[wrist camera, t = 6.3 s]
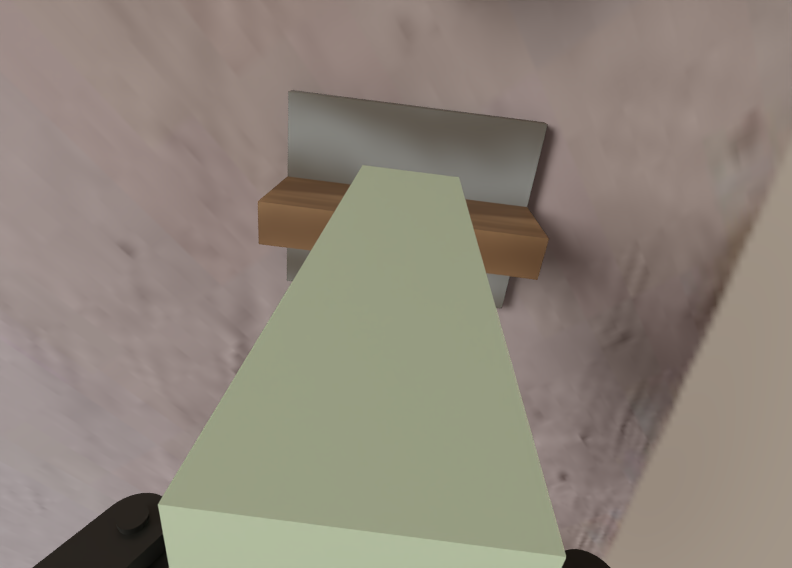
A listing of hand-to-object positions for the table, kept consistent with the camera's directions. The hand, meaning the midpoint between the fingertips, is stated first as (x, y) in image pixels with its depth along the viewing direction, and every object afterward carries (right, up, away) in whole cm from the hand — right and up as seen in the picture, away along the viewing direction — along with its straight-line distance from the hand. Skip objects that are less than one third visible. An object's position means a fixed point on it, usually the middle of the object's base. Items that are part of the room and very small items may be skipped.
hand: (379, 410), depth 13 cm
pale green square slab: (0, +2, +4) cm, 4 cm away
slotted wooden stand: (+1, +9, +19) cm, 21 cm away
